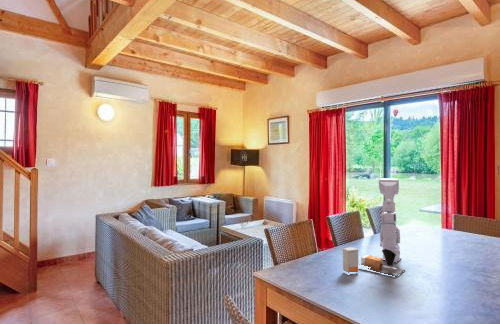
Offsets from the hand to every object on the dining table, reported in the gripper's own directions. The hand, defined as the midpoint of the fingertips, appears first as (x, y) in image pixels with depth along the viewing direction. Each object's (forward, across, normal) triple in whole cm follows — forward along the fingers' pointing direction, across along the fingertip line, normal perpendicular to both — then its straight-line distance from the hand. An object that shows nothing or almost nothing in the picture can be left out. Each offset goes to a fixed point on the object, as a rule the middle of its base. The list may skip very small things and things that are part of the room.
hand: (389, 265), depth 145 cm
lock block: (+2, +6, +5) cm, 8 cm away
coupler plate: (+3, +4, +3) cm, 6 cm away
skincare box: (+4, +1, +19) cm, 20 cm away
